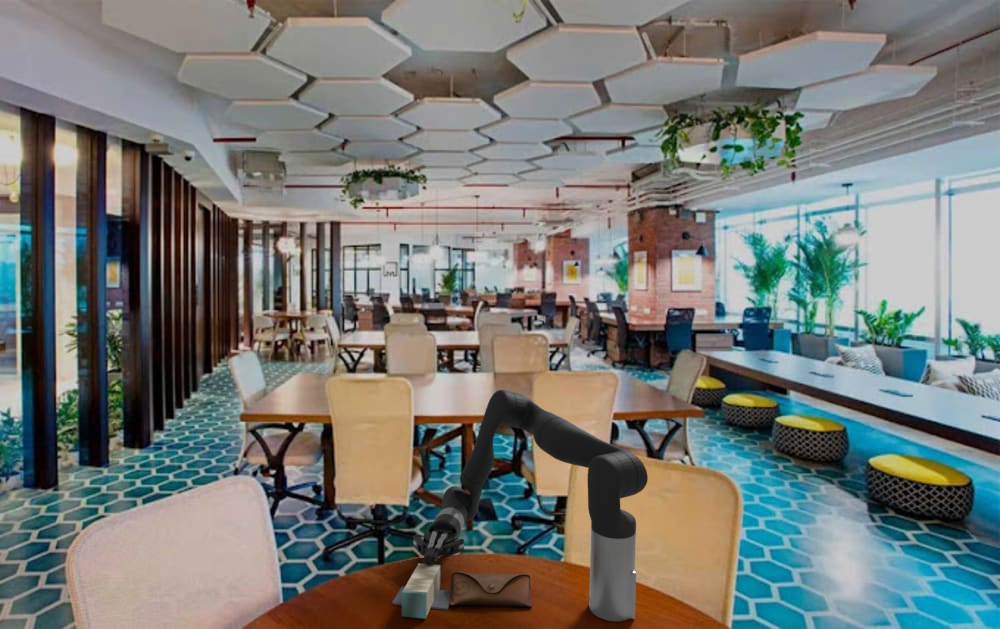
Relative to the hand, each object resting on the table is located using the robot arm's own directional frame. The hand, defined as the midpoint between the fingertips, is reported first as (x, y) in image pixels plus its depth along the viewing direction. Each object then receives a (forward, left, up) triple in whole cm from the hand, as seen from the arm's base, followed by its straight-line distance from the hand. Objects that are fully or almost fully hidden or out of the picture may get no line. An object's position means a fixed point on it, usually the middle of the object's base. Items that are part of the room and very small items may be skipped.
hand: (428, 560), depth 123 cm
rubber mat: (0, +4, -7) cm, 8 cm away
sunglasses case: (-14, +1, -7) cm, 16 cm away
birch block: (0, -1, -4) cm, 4 cm away
